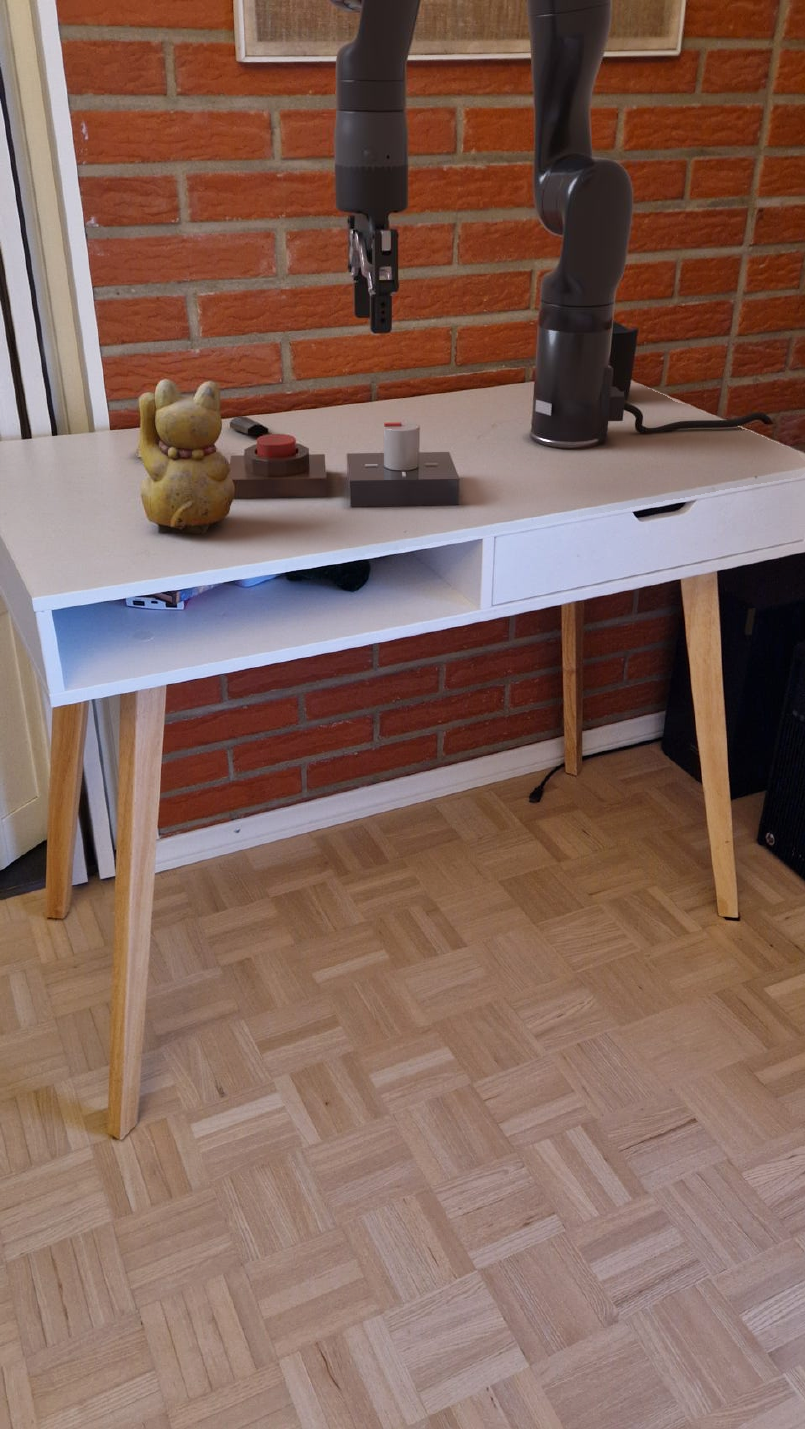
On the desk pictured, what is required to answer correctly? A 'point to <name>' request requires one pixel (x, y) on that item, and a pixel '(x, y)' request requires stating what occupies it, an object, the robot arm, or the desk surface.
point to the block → (248, 426)
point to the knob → (401, 445)
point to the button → (276, 445)
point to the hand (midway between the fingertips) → (372, 325)
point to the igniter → (278, 475)
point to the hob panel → (402, 481)
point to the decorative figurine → (183, 459)
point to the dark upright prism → (622, 356)
